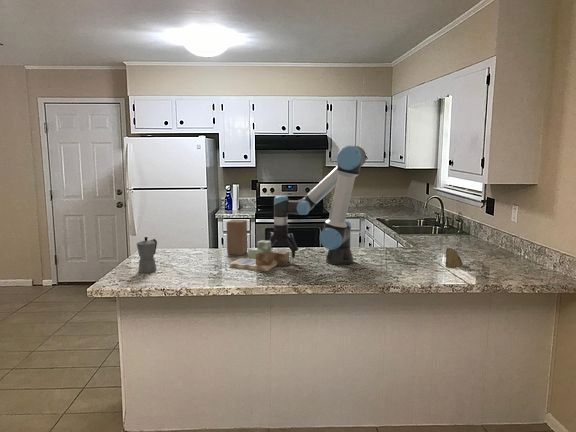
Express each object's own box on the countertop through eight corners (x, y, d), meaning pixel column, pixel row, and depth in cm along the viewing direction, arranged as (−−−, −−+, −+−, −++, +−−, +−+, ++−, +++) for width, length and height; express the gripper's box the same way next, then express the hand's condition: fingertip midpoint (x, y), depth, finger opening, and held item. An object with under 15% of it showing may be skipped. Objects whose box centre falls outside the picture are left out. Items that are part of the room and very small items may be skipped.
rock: (460, 259, 244) (442, 256, 245) (466, 249, 238) (447, 246, 238) (463, 275, 236) (444, 272, 237) (468, 265, 230) (449, 262, 231)
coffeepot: (147, 275, 222) (146, 239, 220) (131, 273, 225) (129, 238, 223) (165, 267, 237) (163, 234, 234) (149, 266, 240) (148, 233, 237)
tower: (273, 262, 239) (272, 240, 237) (267, 265, 232) (267, 243, 231) (261, 261, 241) (260, 239, 240) (255, 264, 235) (255, 242, 233)
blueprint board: (276, 264, 242) (276, 261, 241) (267, 270, 230) (267, 267, 229) (240, 261, 249) (240, 257, 249) (229, 267, 238) (229, 263, 237)
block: (242, 255, 263) (242, 222, 260) (226, 254, 265) (226, 221, 262) (247, 251, 273) (247, 219, 270) (232, 251, 275) (231, 219, 272)
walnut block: (289, 261, 249) (289, 251, 248) (284, 264, 243) (284, 254, 242) (277, 260, 252) (277, 250, 251) (272, 263, 245) (272, 253, 244)
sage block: (261, 258, 257) (261, 248, 256) (257, 260, 252) (257, 250, 251) (252, 257, 259) (252, 247, 258) (248, 259, 254) (248, 249, 253)
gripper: (304, 224, 243) (304, 262, 246) (263, 221, 252) (263, 258, 255) (299, 226, 236) (299, 265, 239) (257, 223, 245) (258, 261, 248)
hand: (280, 262), depth 247 cm, fingers open, 12 cm apart
